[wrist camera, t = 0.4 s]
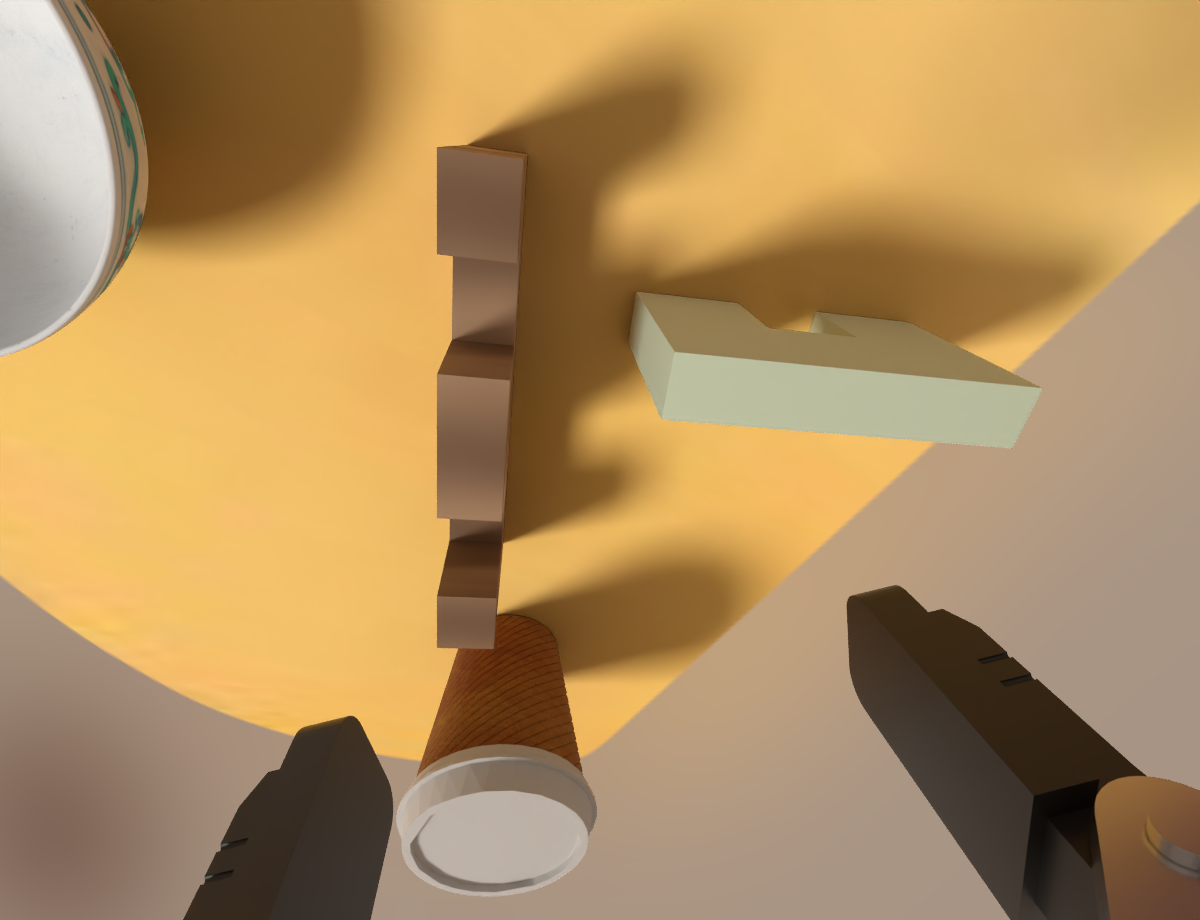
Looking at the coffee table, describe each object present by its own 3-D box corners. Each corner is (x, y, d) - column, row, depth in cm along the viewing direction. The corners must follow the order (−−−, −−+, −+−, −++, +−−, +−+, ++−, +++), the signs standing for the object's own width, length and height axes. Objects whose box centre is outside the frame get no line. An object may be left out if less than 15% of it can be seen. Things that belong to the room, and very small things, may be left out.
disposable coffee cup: (530, 569, 35) (527, 754, 24) (608, 664, 39) (634, 855, 29) (400, 637, 36) (344, 838, 26) (489, 720, 41) (472, 921, 30)
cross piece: (628, 342, 29) (661, 419, 21) (636, 291, 28) (674, 352, 20) (891, 369, 31) (1012, 448, 23) (908, 322, 30) (1043, 388, 22)
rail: (466, 145, 24) (436, 147, 17) (527, 153, 25) (523, 159, 18) (458, 541, 33) (437, 647, 26) (503, 543, 34) (493, 649, 27)
